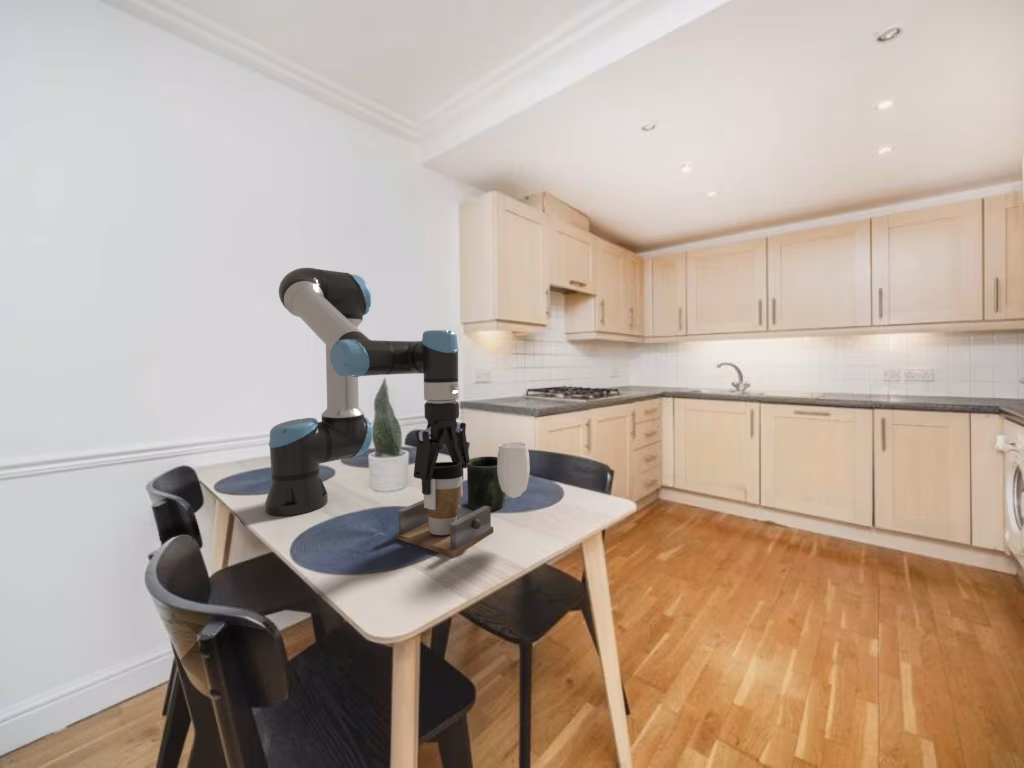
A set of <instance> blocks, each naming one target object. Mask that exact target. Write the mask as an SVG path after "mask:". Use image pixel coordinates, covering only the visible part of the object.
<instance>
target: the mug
mask: <svg viewBox="0 0 1024 768" xmlns="http://www.w3.org/2000/svg"><path fill="white" fill-rule="evenodd" d="M497 457H498V456H479V457H473V458H469V463H466V464H467V468H466V471H467V472H466V473H467V474H466V477H467V479H466V480H467V481H466V482H467V505H468V507H469V508H470V509H472V510H474V511H475V510H477V509H479V508H481V507H483V506H488V507H490V512H491V511H495V510H498V509H500V508H503V507H504V505H505V503H506V493H504V492H503V491H502V490H501V487H500V484H499V479H498V473H497Z"/></svg>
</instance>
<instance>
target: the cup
mask: <svg viewBox="0 0 1024 768" xmlns="http://www.w3.org/2000/svg"><path fill="white" fill-rule="evenodd" d="M528 447H529V446H528V444H527V443H526V442H519V441H511V442H510V441H509V442H502V443H500V444H499V445H498V451H497V456H496V457H497V473H498V479H499V484H500V487H501V490H502V491H503V492H504V493H505V495H507V497H509V498H513V499H516V498H518V497H520V496H521V495H522V494H523V493H525V492H526V491H527V489H528V485H529V480H530V471H531V468H530V466H531V465H530V463H531V462H530V453H529V449H528Z"/></svg>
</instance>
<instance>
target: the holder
mask: <svg viewBox="0 0 1024 768" xmlns="http://www.w3.org/2000/svg"><path fill="white" fill-rule="evenodd" d="M397 515H398V517H397V518H398V532H397V533H395V539H396V538H397V539H401V540H403V541H407V542H410V543H412V544H415V545H418V546H421V547H424V548H423V549H425V548H427V549H426V550H428V549H430V550H429V551H431V550H433V551H432V552H434V551H436V552H435V553H437V552H438V553H437V554H441V555H445V556H447V557H450V558H455V557H457V556H458V555H460V554H461V553H463V552H466V550H467V549H470V548H471V547H472V546H474V545H475V544H477V543H478V542H481V540H484V539H485V538H487V537H488V536H490V535H492V534H493V533H494V526H492V525H491V523H492V522H491V520H492V519H491V518H492V517H491V515H492V514H491V511H490V507H488V506H483V507H481V508H479V509H477V510H474V511H472V512H470V513H468V514H466V515H464V516H462V517H461V518H459V517H457V521H455V522H453V523H451V524H450V534H448V535H434V534H432V533H430V532H429V518H428V509H427V508H424V499H422V500H421V501H418V502H415V503H412V504H411V505H408V506H406V507H403V508H400V509H399V510H397ZM403 541H402V542H403ZM412 544H411V545H412ZM415 545H414V546H415ZM418 546H417V547H418ZM421 547H420V548H421Z"/></svg>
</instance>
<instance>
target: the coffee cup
mask: <svg viewBox="0 0 1024 768" xmlns="http://www.w3.org/2000/svg"><path fill="white" fill-rule="evenodd" d="M462 473H463V474H462ZM426 474H428V472H427V473H426ZM461 476H463V477H464V470H463V471H462V464H461V462H452V461H445V462H444V461H443V462H442V461H440V462H439V461H438V462H437V461H436V465H435V469H434V472H433V476H432V478H433V479H435V495H436V509H435V510H431V509H428V518H429V532H430V533H432V534H434V535H448V534H450V524H451V523H453V522H455V521H457V518H458V513H459V507H460V506H459V505H460V498H461V497H460V489H461V484H460V480H461Z"/></svg>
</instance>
